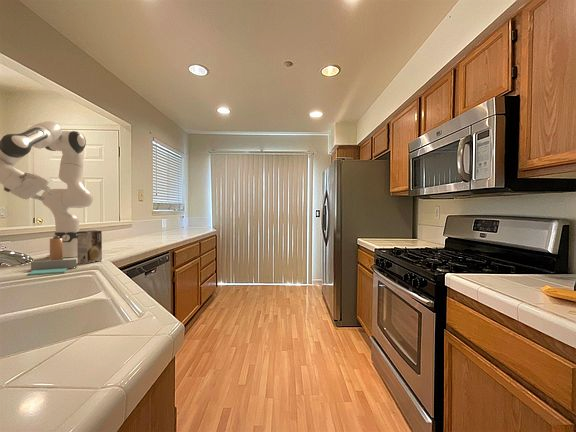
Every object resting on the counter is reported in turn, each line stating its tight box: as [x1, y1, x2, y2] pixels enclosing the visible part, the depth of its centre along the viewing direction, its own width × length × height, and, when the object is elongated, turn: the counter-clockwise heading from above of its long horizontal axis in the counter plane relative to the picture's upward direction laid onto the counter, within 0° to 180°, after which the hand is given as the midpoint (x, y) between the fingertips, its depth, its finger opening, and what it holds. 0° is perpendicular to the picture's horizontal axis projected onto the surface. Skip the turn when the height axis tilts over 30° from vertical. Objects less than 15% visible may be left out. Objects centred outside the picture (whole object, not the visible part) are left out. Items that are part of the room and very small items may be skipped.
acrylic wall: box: [30, 258, 77, 272], centre depth 135 cm, size 1×16×4 cm, turn 119°
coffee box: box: [76, 229, 103, 264], centre depth 155 cm, size 9×6×16 cm
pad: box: [27, 268, 68, 276], centre depth 129 cm, size 9×12×1 cm
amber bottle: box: [49, 236, 64, 261], centre depth 144 cm, size 5×5×14 cm
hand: (48, 196), depth 146 cm, fingers open, 8 cm apart
